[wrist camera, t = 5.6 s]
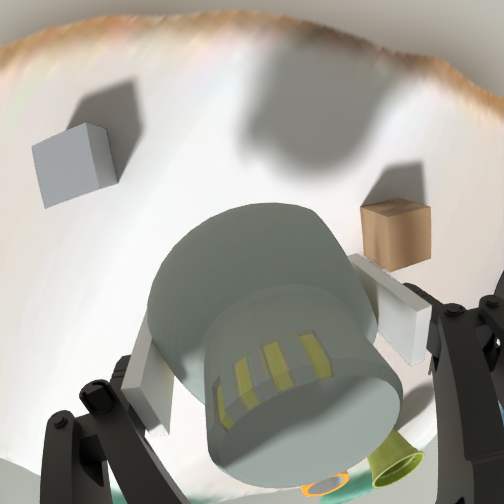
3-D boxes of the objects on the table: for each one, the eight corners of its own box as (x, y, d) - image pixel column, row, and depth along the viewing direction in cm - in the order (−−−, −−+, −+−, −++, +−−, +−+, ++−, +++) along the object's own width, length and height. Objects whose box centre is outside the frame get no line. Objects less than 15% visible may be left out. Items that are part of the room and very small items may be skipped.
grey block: (106, 128, 22) (85, 122, 17) (118, 183, 23) (99, 188, 19) (58, 147, 21) (31, 146, 17) (70, 199, 23) (44, 208, 18)
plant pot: (348, 438, 39) (369, 478, 31) (399, 409, 39) (425, 445, 31) (358, 459, 42) (375, 493, 34) (402, 433, 42) (424, 465, 34)
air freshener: (356, 324, 18) (448, 433, 8) (246, 389, 18) (276, 524, 9) (272, 168, 14) (386, 183, 5) (136, 257, 15) (55, 388, 5)
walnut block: (399, 198, 28) (430, 206, 23) (402, 243, 29) (430, 258, 25) (359, 206, 27) (387, 217, 23) (363, 255, 29) (390, 272, 24)
